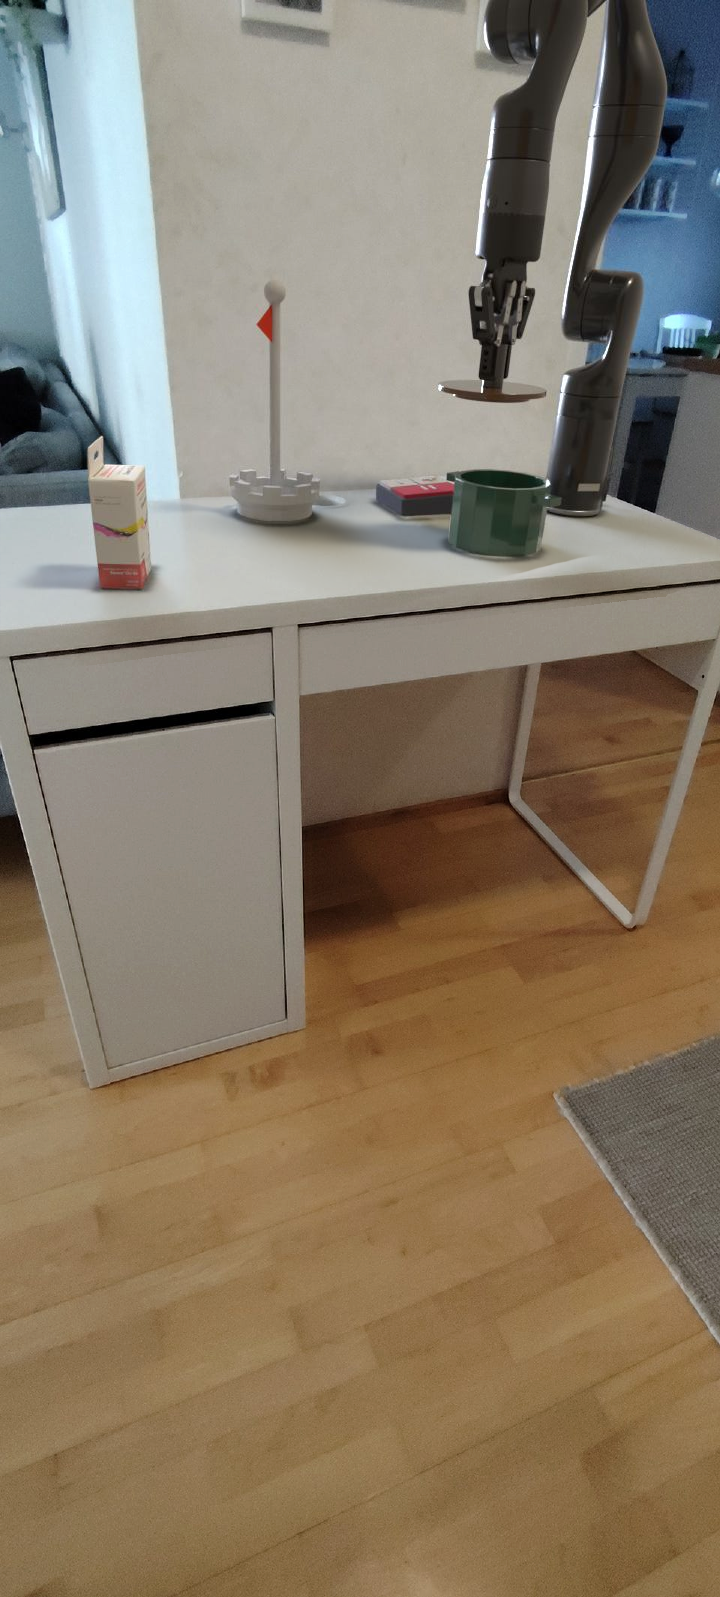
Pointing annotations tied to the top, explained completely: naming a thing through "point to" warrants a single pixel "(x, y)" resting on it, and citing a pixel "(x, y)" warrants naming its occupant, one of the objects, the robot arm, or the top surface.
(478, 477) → the pot
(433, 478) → the grey red flat block
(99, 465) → the ink cartridge box
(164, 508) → the top surface
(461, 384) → the lid
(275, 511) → the flag stand
